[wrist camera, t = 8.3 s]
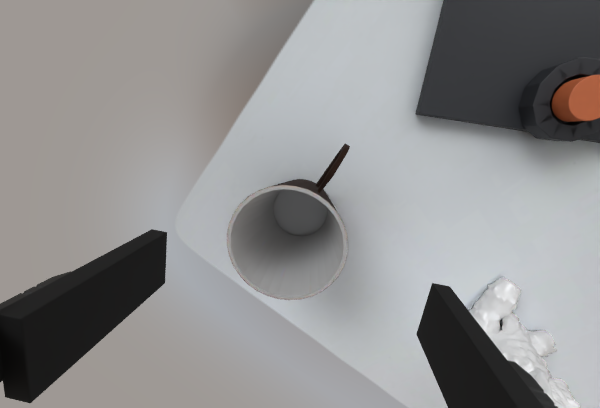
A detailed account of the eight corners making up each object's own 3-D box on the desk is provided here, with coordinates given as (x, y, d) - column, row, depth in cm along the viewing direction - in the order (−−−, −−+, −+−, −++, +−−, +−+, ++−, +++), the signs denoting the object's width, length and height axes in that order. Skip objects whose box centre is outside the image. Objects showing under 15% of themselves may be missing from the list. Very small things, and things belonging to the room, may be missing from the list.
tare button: (544, 118, 23) (561, 117, 21) (560, 76, 22) (579, 71, 20) (586, 124, 23) (606, 124, 21) (603, 82, 22) (625, 77, 20)
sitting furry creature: (550, 338, 30) (688, 466, 18) (475, 373, 32) (557, 509, 20) (505, 271, 29) (622, 362, 17) (429, 312, 31) (489, 418, 19)
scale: (413, 120, 26) (424, 118, 24) (475, -128, 22) (497, -169, 19) (616, 152, 25) (653, 154, 22) (727, -103, 21) (792, -142, 18)
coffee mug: (289, 261, 31) (270, 318, 21) (244, 196, 30) (203, 225, 20) (383, 208, 29) (411, 245, 19) (339, 134, 27) (344, 134, 18)
